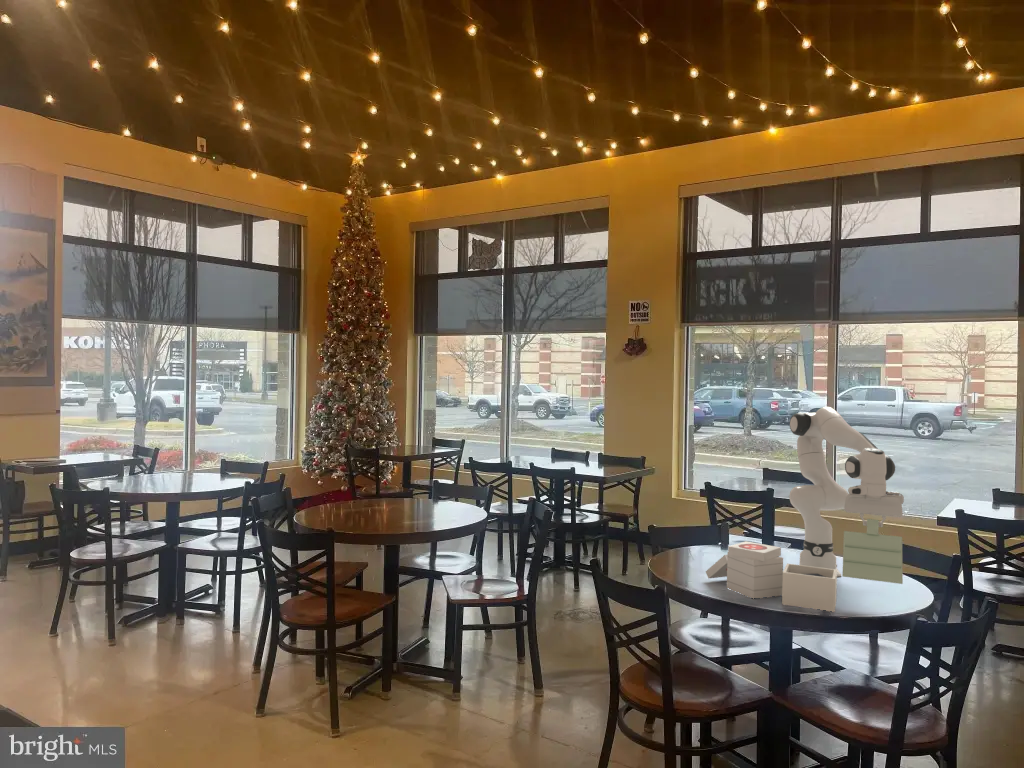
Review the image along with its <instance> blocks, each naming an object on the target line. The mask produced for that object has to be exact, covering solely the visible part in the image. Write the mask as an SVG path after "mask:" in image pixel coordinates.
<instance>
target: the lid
mask: <svg viewBox="0 0 1024 768" xmlns="http://www.w3.org/2000/svg"><path fill="white" fill-rule="evenodd" d="M866 521H867V526H866V532H858V531H857V532H856V531H849V530H848V531H847V530H843V543H842V544H843V545H842V546H843V547H842V548H843V550H842V552H843V553H842V573H841V577H845V578H852V579H859V580H861V579H862V580H868V581H874V582H875V581H876V582H882V583H883V582H884V583H890V584H899V585H900V584H901V585H903V584H904V583H903V582H904V581H903V580H904V579H903V578H904V577H903V576H904V575H903V536H899V535H898V536H897V535H890V534H889V535H887V534H880V533H879V529H880V527H879V522H880V521H879V519H870V518H867V519H866Z"/></svg>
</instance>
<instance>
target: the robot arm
mask: <svg viewBox="0 0 1024 768" xmlns="http://www.w3.org/2000/svg"><path fill="white" fill-rule="evenodd" d="M789 429H790V431H791V432H792V434H793V435H795V436H798V437H797V440H796V449H797V457H798V463H799V469H800V473H801V475H802V476H803V478H805V479H807V480H809V481H810V482H812V483H813V484H811V485H809V484H804V485H797V486H794V487H792V489H791V490H790V492H789V495H788V498H789V501H790V502H789V503H790V504H791V505H792V507H793V508H795V510H797V511H798V512H799V514H800V515H801V517H802V519H803V522H804V539H803V550H802V551H800V553H799V563H798V565H803V566H811V567H819V568H828V569H836V570H837V578H838V577H842V573H841V572H840V570H839V569H838V568H837V567H838V564H837V556H836V555H835V554H834V552H833V551H834V543H833V526H832V524H831V522H830V521H829V520H827V519H825V518H824V517H822V516H821V515H822V514H821V511H834V512H835V511H841V510H843V509H844V512H846V513H848V514H849V513H850V514H851V513H852V514H859V518H860V519H861V521H862V526H865V527H867V519H865V518H864V517H865V515H874V516H881V518H882V519H881V521H879V528H883V526H884V523H885V521H886V519H887V517H896V518H900V517H902V516H903V503H904V502H905V499H904V498H905V497H904V495H903V494H902V493H900V492H898V491H887V481H888V480H890V479H891V478H892V477H893V476H894V474H895V473H896V465H895V463H894V460H893V459H892V458H891V457H890V456H889V455H887V454H886V453H885V451H883V450H882V449H879V448H878V447H877V446H876V445H875V444H874V443H873V442H872V441H871V440H870V439H869V438H868V437H867V436H866V435H864V434H863V433H861V432H859V431H858V430H856V429H855V428H854V427H853V426H851V425H850V424H849V423H847V421H846V420H845V419H844V417H843V416H841V414H840V413H839V412H838V411H836V409H834V408H833V407H831V406H823V407H821V408H819V409H817V410H816V411H815V412H797V413H794V414H792V416H791V418H790V420H789ZM824 440H825V441H827V442H828V444H830V445H832V446H835V447H840V448H841V447H842V448H846V449H847V448H848V449H852V450H855V451H857V452H859V453H857V454H855V455H854V454H853V455H850V456H849V457H847V459H846V461H845V463H844V468H845V472H846V474H847V475H848V476H849V478H850V479H855V480H860V484H859V485H853V486H850V487H848V490H847V489H846V488H845V487H843V486H841V485H840V484H839V483H837V481H836V480H835V479H834V478H833V477H832V475H831V473H830V472H829V470H828V466H827V462H826V457H825V453H824V452H825V451H824V448H823V441H824Z"/></svg>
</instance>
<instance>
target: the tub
mask: <svg viewBox="0 0 1024 768" xmlns="http://www.w3.org/2000/svg"><path fill="white" fill-rule="evenodd" d="M816 573H817V574H820V575H823V576H825V577H820V576H812V575H804V574H816ZM837 582H838V577H837V570H836V569H828V568H819V567H811V566H803V565H799V564H794V563H786V564H785V567H784V568H783V584H782V596H781V604H782V605H783V606H789V607H790V606H792V607H797V608H798V607H799V608H805V609H810V608H813V609H812V610H817V609H820V610H819V611H823V610H826V611H825V612H830V611H832V613H836V608H837V607H836V604H837V596H838V595H837V589H838V588H837V587H838V586H837V585H838V583H837Z"/></svg>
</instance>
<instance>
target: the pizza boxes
mask: <svg viewBox="0 0 1024 768" xmlns="http://www.w3.org/2000/svg"><path fill="white" fill-rule="evenodd" d="M727 549H728V551H727V554H724V555H723V556H721V558H719V559H718V560H717V561H716V562H715V563H713V564H712V565H711V566H710V567H709V568H708V569H707V570H705V573H706V576H707V578H708V579H714V578H715V579H717V578H725V577H726V589H727V588H729V589H731V590H733V591H736V592H739V593H741V594H743V595H742V596H744V595H745V596H744V597H746V596H748V597H747V598H749V597H751V598H753V599H752V600H755V599H754V598H760V599H764V598H763V597H767V598H773V597H772V596H775V597H781V596H780V595H782V584H783V571H784V557H782V556H781V555H782V547H780V546H775V545H768V544H763V543H758V542H752V541H746V540H745V541H742V542H738V543H735V544H731V545H729V546H727ZM731 590H730V591H731ZM733 591H732V592H733ZM736 592H735V593H736ZM741 594H740V595H741ZM751 598H750V599H751Z"/></svg>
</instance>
